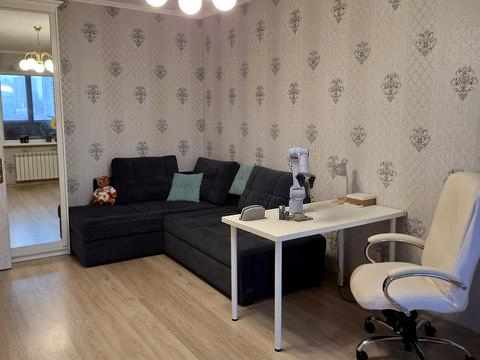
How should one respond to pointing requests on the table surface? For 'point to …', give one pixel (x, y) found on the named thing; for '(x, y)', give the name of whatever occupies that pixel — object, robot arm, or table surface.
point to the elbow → (282, 213)
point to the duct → (298, 217)
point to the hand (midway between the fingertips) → (306, 187)
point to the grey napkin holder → (252, 213)
